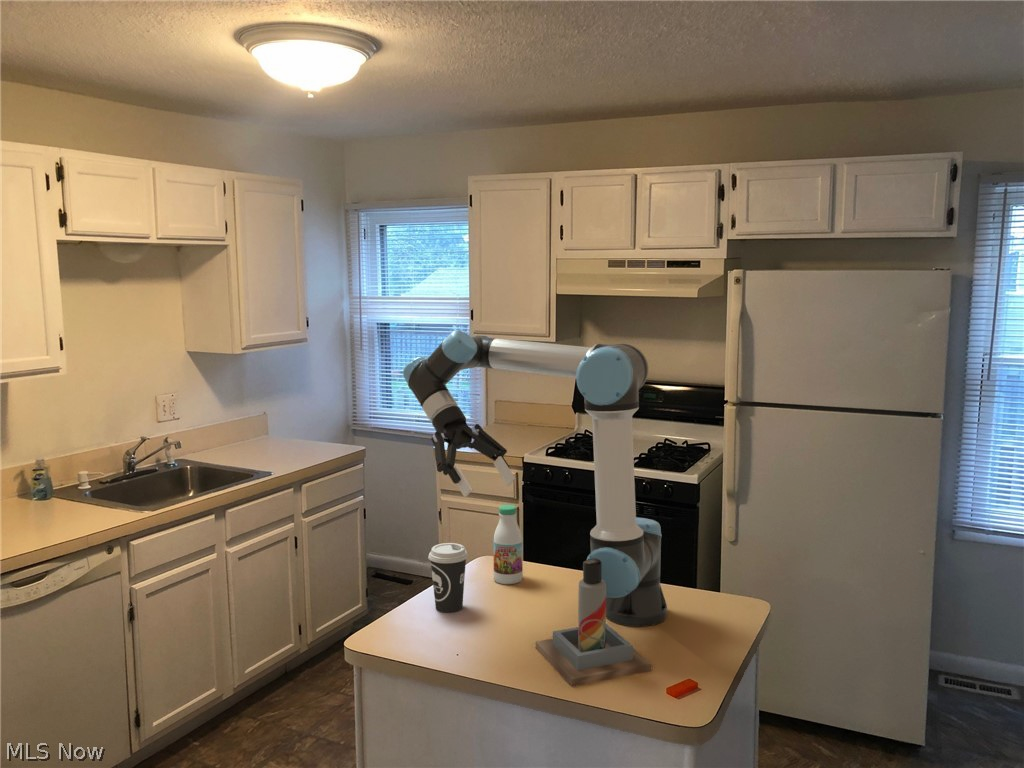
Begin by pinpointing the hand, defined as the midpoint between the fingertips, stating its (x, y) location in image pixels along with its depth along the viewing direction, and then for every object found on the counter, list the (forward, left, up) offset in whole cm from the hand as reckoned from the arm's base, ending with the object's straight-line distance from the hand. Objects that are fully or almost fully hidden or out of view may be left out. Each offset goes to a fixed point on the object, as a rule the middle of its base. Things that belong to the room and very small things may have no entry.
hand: (490, 487), depth 180 cm
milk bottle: (-14, -26, -33) cm, 44 cm away
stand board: (-14, +23, -33) cm, 42 cm away
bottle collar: (-14, +23, -31) cm, 41 cm away
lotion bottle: (-14, +23, -31) cm, 41 cm away
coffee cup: (+6, -14, -33) cm, 36 cm away
